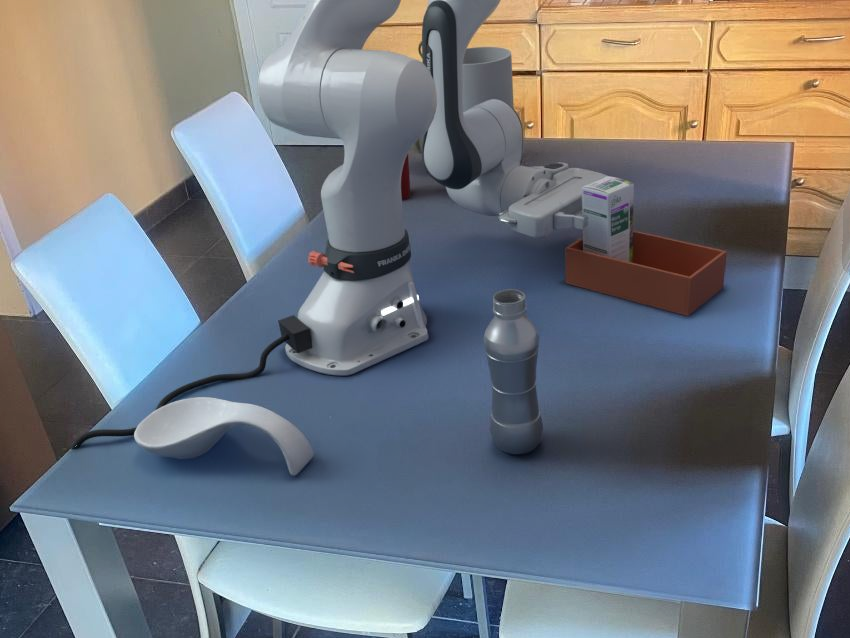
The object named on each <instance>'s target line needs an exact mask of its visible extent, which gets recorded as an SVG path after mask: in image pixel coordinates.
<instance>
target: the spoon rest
mask: <svg viewBox="0 0 850 638" xmlns="http://www.w3.org/2000/svg"><path fill="white" fill-rule="evenodd" d="M239 425H240V426H242V425H243V426H248V427H252V428H254V429H256V430H259V431H261V432H263V433H264V434H266V435H268V436H269V437H270V438H271V439H272V440H273V441H274V442H275V443H276V444H277V445H278V447H279V448H280V450H281V452H282V454H283V457H284V460H285V462H286V466H287V469H288V471H289V475H291V476H292V477H295V476H297V475H298V474H299V473H300V472H301V471H302V470H303V469H304V468H305V466H307V464H308V463H309V462H310V461H311V460H312V458H313V457H314V450H313V449H312V446H311V443H309V441H308V439H307V438H306V436H305V435H304V434H303V433H302V432H301V430H299V428H297V426H295V425H294V424H292V423H291V422H290V421H289V420H288V419H286V418H284V417H282V416H281V415H279V414H278V413H276V412H275V411H272V410H270V409H268V408H265V407H263V406H260V405H257V404H253V403H245V402H237V401H236V402H235V401H231V400H225V399H222V398H217V397H208V396H198V397H196V396H195V397H188V398H184V399H179V400H176V401H172V402H169V403H168V404H167V405H165V406H163V407H161V408H159V409H157V410H156V409H155V410H154V411H152V412H150V414H148V415H146V417H145V418H143V419H142V420H141V421H140V422H139V423H138V425H137V426H136V427H137V428H136V427H135V428H136V430H135V433H134V435H133V438H134V441H135V442H136V444H137V445H138V446H139V447H141V448H142V449H144V450H145V451H147V452H149V453H151V454H153V455H156V456H160V457H165V458H174V459H178V460H189V459H195V458H198V457H200V456H202V455H204V454H206V453H207V452H209V451H210V450H211V449H212V448H213V447H214V446H215V445H216V444H217V443H218V442H219V441H220V440H221V439H222V437H224V435H225V434H226V433H227V432H228V430H230V429H231V428H232V427H235V426H239Z"/></svg>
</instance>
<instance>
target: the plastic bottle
mask: <svg viewBox="0 0 850 638" xmlns="http://www.w3.org/2000/svg"><path fill="white" fill-rule="evenodd" d="M526 301H527V300H526V294H525V293H524V292H523V291H521V290H519V289H514V288H513V289H512V288H508V289H507V288H506V289H502V290H499V291H496V293H494V294H493V296H492V305H493V306H492V314H493V315H494V316H493V318H492V319H491V321H490V322H489V323H488V326H487V327H486V329H485V331H484V334H483V348H484V353H485V356H486V361H487V364H488V369H489V376H490V382H491V413H490V422H489V423H490V424H489V431H490V435H491V439H492V443H494V445H495V446H496V447H497V448H498V449H499V450H500V451H501V452H503V453H506V454H511V455H523V454H527V453H530V452H532V451H534V450H535V449H536V448H537V447H538V445H539V444H540V443H541V442H542V438H543V433H544V432H543V431H544V423H543V418H542V413H541V412H540V406H539V399H538V392H537V366H538V358H539V357H538V356H539V347H540V336H539V332H538V330H537V328H536V326H535V325H534V323H533V322H532V321H531V319H529V318H528V316H527V315H526V314H527V312H528V308H527V304H526V303H527V302H526Z"/></svg>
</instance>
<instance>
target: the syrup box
mask: <svg viewBox="0 0 850 638" xmlns="http://www.w3.org/2000/svg"><path fill="white" fill-rule="evenodd" d="M634 197H635V184H634V182H631V181H629V180H626V179H624V178H620V177H615V176H610V175H609V176H608V175H607V176H606V177H604V178H603V179H601V180H598V181H596V182H594V183H591V184H589V185H585V186H583V187H582V215H587V216H588V225H587V226H586V227H585V228H583V229H582V237H583V251H586V252H591V253H595V254H599V255H603V256H607V257H611V258H615V259H619V260H623V261H627V262H632V260H633V230H634V207H635V206H634V203H635V202H634V201H635V200H634V199H635V198H634Z"/></svg>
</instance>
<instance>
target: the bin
mask: <svg viewBox="0 0 850 638" xmlns="http://www.w3.org/2000/svg"><path fill="white" fill-rule="evenodd" d="M564 250H565V252H564V253H565V284H567V285H571V286H575V287H579V288H582V289H586V290H590V291H593V292H597V293H601V294H604V295H608V296H611V297H616V298H619V299H622V300H627V301H630V302H634V303H638V304H641V305H645V306H649V307H653V308H657V309H660V310H663V311H667V312H671V313H675V314H679V315H682V316H686V317H689V316H690V315H691V314H693V313H694V312H695V311H696V310H698V309H699V308H700V307H701V306H703V305H704V304H705V303H706V302H708V301H709V300H710V299H712V297H714V296H715V295H716V294H717V293H719V292H720V291H721V290H723V289H724V286H725V285H724V284H725V275H726V264H727V254H728V251H727V250H724V249H719V248H715V247H710V246H705V245H701V244H697V243H692V242H688V241H683V240H679V239H674V238H670V237H665V236H661V235H656V234H652V233H647V232H642V231H638V230H634V229H633V260H632V262H627V261H623V260H619V259H615V258H611V257H607V256H603V255H599V254H595V253H591V252H586V251H583V236H582V237H581V238H578V239H577V240H576V241H574V242H572V243H570V244H569V245H567V246H566V247H565V249H564Z"/></svg>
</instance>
